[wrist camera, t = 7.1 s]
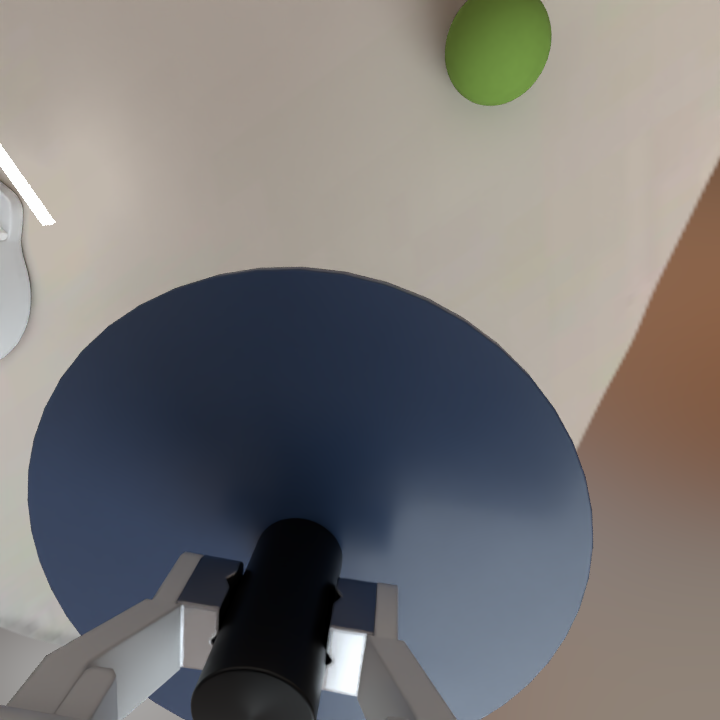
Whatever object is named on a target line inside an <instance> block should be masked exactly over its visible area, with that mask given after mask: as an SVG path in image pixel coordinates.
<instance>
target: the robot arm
mask: <svg viewBox="0 0 720 720" xmlns="http://www.w3.org/2000/svg"><path fill="white" fill-rule="evenodd" d="M0 166H1V167H2V169H3V170H4V171H5V173H6V174H7V176H8V177H9V178H10V180H11V181H12V183H13V184H14V185H15V187H16V188H17V190H18V191H19V192H20V194H21V195H22V197H23V198H24V200H25V201H26V202H27V204H28V205H29V207H30V208H31V209H32V211H33V212H34V214H35V215H36V216H37V218H38V219H39V221H40V222H41V223H42V225H52V224H53V223H55V221H54V220H53V219H52V217H51V216H50V214H49V213H48V212H47V210H46V209H45V207H44V206H43V204H42V203H41V202H40V200H39V199H38V197H37V196H36V194H35V193H34V192H33V190H32V189H31V187H30V186H29V185H28V183H27V182H26V180H25V179H24V177H23V176H22V175H21V173H20V172H19V170H18V169H17V167H16V166H15V165H14V163H13V162H12V160H11V159H10V158H9V156H8V155H7V153H6V152H5V150H4V149H3V148H2V146H1V145H0ZM22 226H23V208H22V204H21V201H20V199H19V198H18V196H17V195H16V194H15V193H14V192H13V191H12V190H11V189H10V188H8V187H7V186H6V185H5V184H3V183H2V182H1V181H0V359H2V358H3V357H5V356H6V355H7V354H8V353H10V352H11V351H12V349H13V348H14V347H15V346H16V345H17V343H18V342H19V340H20V339H21V337H22V335H23V333H24V331H25V329H26V326H27V323H28V319H29V315H30V308H31V289H30V281H29V276H28V271H27V268H26V264H25V260H24V257H23V253H22V248H21V236H22ZM243 575H244V563H243V562H241V561H236V560H231V559H225V558H220V557H214V556H209V555H201V554H196V553H190V552H184V553H183V554H182V555H180V557H179V558H178V560H177V561H176V563H175V565H174V566H173V568H172V569H171V571H170V572H169V574H168V575H167V577H166V579H165V580H164V582H163V583H162V585H161V586H160V588H159V590H158V591H157V593H156V594H155V596H154V597H153V599H152V600H151V599H145V600H143V601H141V602H140V603H138V604H136V605H134V606H133V607H131V608H129V609H127V610H126V611H124V612H122V613H120V614H119V615H117V616H115V617H113V618H112V619H110V620H108V621H106V622H105V623H103V624H101V625H99V626H97V627H96V628H94V629H92V630H90V631H89V632H87V633H85V634H83V635H82V636H80V637H78V638H76V639H75V640H73V641H71V642H69V643H68V644H66V645H64V646H62V647H61V648H59V649H57V650H55V651H54V652H52V653H50V654H48V655H46V657H45V658H44V659H43V661H42V662H41V663H40V664H39V665H38V667H37V668H36V669H35V670H34V672H33V673H32V674H31V675H30V677H29V678H28V679H27V680H26V682H25V683H24V684H23V685H22V687H21V688H20V689H19V690H18V691H17V693H16V694H15V695H14V697H13V698H12V699H11V700H10V701H9V703H8V704H7V705H6V706H4V705H0V720H123V719H124V718H125V717H126V716H127V715H128V714H129V713H131V712H132V711H133V710H134V709H135V708H136V707H137V706H139V705H140V704H141V703H142V702H143V701H144V700H145V699H147V698H148V697H149V696H150V695H151V694H152V693H154V692H155V691H156V690H157V689H158V688H159V687H160V686H162V685H163V684H164V683H165V682H166V681H167V680H168V679H170V678H171V677H172V676H173V675H174V674H175V673H176V672H178V671H179V670H180V667H184V668H191V669H199V670H203V668H204V665H205V663H206V661H207V658H208V656H209V654H210V651H211V649H212V647H213V644H214V642H215V640H216V637H217V635H218V633H219V630H220V628H221V626H222V623H223V621H224V619H225V616H226V614H227V612H228V609H229V607H230V605H231V602H232V600H233V598H234V595H235V593H236V591H237V589H238V586H239V584H240V582H241V579H242V577H243ZM326 652H327V659H326V665H325V671H324V677H323V683H322V689H321V690H326V691H331V692H336V693H341V694H346V695H351V696H356V697H357V700H358V702H359V705H360V707H361V709H362V712H363V714H364V716H365V719H366V720H457V719H456V717H455V716H454V715H453V713H452V712H451V710H450V709H449V707H448V706H447V704H446V703H445V701H444V700H443V698H442V697H441V695H440V694H439V692H438V691H437V689H436V688H435V686H434V685H433V683H432V682H431V680H430V679H429V677H428V676H427V674H426V673H425V671H424V670H423V669H422V667H421V666H420V664H419V663H418V661H417V660H416V658H415V657H414V655H413V654H412V652H411V651H410V649H409V648H408V646H407V645H406V643H405V642H404V641H402V640H398V587H397V585H392V584H385V583H378V582H377V583H376V582H369V581H363V580H356V579H349V578H343V577H338V579H337V585H336V591H335V598H334V603H333V609H332V615H331V621H330V627H329V634H328V641H327V648H326Z"/></svg>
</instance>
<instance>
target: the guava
mask: <svg viewBox="0 0 720 720" xmlns="http://www.w3.org/2000/svg"><path fill="white" fill-rule="evenodd" d="M550 46H551V25H550V21H549V17H548V14H547V11H546V9H545V7H544V5H543V4H542V2H541V1H540V0H468V1H467V2H466V3H465V4H464V5H463V6H462V7H461V9H460V10H459V11H458V13H457V14H456V16H455V18H454V20H453V22H452V24H451V26H450V29H449V32H448V35H447V39H446V46H445V62H446V68H447V72H448V75H449V77H450V80H451V82H452V83H453V85H454V87H455V88H456V89H457V91H458V92H459V93H460V94H461V95H462V96H464V97H465V98H466V99H468V100H470V101H472V102H474V103H477V104H480V105H487V106H494V105H501V104H505V103H507V102H510V101H512V100H514V99H516V98H518V97H519V96H520V95H522V94H523V93H525V92H526V91H527V90H528V89H529V88H530V87H531V86H532V85H533V84H534V82H535V81H536V80H537V78H538V77H539V75H540V74H541V72H542V70H543V68H544V66H545V64H546V61H547V59H548V55H549V51H550Z"/></svg>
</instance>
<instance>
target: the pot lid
mask: <svg viewBox="0 0 720 720" xmlns="http://www.w3.org/2000/svg"><path fill="white" fill-rule="evenodd" d="M28 507H29V515H30V523H31V531H32V535H33V539H34V542H35V546H36V550H37V554H38V557H39V561H40V563H41V566H42V568H43V571H44V573H45V575H46V578H47V580H48V583H49V585H50V587H51V590H52V591H53V593H54V595H55V597H56V598H57V600H58V602H59V604H60V605H61V607H62V609H63V611H64V612H65V614H66V616H67V617H68V619H69V620H70V621H71V623H72V624H73V625H74V627H75V628H76V630H77V631H78V632H79V634H80V635H81V636H82V635H83V634H85V633H87V632H89V631H90V630H92V629H94V628H96V627H97V626H99V625H101V624H103V623H105V622H106V621H108V620H110V619H112V618H113V617H115V616H117V615H119V614H120V613H122V612H124V611H126V610H127V609H129V608H131V607H133V606H134V605H136V604H138V603H140V602H141V601H143V600H145V599H151V600H152V599H153V597H154V596H155V594H156V593H157V591H158V590H159V588H160V586H161V585H162V583H163V582H164V580H165V579H166V577H167V575H168V574H169V572H170V571H171V569H172V568H173V566H174V565H175V563H176V561H177V560H178V558H179V557H180V555H182V554H183V553H184V552H190V553H196V554H201V555H209V556H214V557H220V558H225V559H231V560H236V561H241V562H243V563H244V575H243V577H242V579H241V582H240V584H239V586H238V589H237V591H236V593H235V595H234V598H233V600H232V602H231V605H230V607H229V609H228V612H227V614H226V616H225V619H224V621H223V623H222V626H221V628H220V630H219V633H218V635H217V637H216V640H215V642H214V644H213V647H212V649H211V651H210V654H209V656H208V658H207V661H206V663H205V665H204V668H203V670H199V669H191V668H184V667H180V670H179V671H178V672H176V673H175V674H174V675H173V676H172V677H171V678H170V679H168V680H167V681H166V682H165V683H164V684H163V685H162V686H160V687H159V688H158V689H157V690H156V691H155V692H154V693H152V694H151V695H150V696H149V697H148V698H149V699H151V700H152V701H154V702H155V703H157V704H158V705H160V706H162V707H164V708H165V709H167V710H169V711H170V712H172V713H174V714H176V715H177V716H179V717H181V718H183V719H185V720H366V719H365V716H364V714H363V712H362V709H361V707H360V705H359V702H358V700H357V697H356V696H351V695H346V694H341V693H336V692H331V691H326V690H321V689H322V683H323V677H324V671H325V665H326V659H327V652H326V648H327V641H328V634H329V627H330V621H331V615H332V609H333V603H334V598H335V591H336V585H337V579H338V577H343V578H349V579H356V580H363V581H369V582H376V583H377V582H378V583H385V584H392V585H397V587H398V640H402V641H404V642H405V643H406V645H407V646H408V648H409V649H410V651H411V652H412V654H413V655H414V657H415V658H416V660H417V661H418V663H419V664H420V666H421V667H422V669H423V670H424V671H425V673H426V674H427V676H428V677H429V679H430V680H431V682H432V683H433V685H434V686H435V688H436V689H437V691H438V692H439V694H440V695H441V697H442V698H443V700H444V701H445V703H446V704H447V706H448V707H449V709H450V710H451V712H452V713H453V715H454V716H455V717H456V719H457V720H481V719H482V718H484V717H485V716H487V715H489V714H490V713H492V712H493V711H495V710H496V709H498V708H499V707H501V706H503V705H504V704H506V703H507V702H508V701H509V700H510V699H512V698H513V697H514V696H515V695H516V694H517V693H519V692H520V691H521V690H522V689H523V688H525V687H526V686H527V685H528V684H529V683H530V682H531V681H532V680H533V679H534V678H535V677H536V675H537V674H538V673H539V672H540V671H541V670H542V669H543V668H544V667H545V665H546V664H547V663H548V662H549V661H550V659H551V658H552V657H553V655H554V654H555V652H556V651H557V649H558V648H559V646H560V645H561V643H562V642H563V640H564V639H565V637H566V636H567V634H568V631H569V629H570V627H571V625H572V623H573V621H574V619H575V617H576V615H577V613H578V611H579V608H580V605H581V602H582V599H583V595H584V592H585V589H586V585H587V582H588V579H589V572H590V564H591V556H592V549H593V526H592V508H591V503H590V498H589V493H588V487H587V482H586V477H585V474H584V471H583V469H582V466H581V463H580V460H579V458H578V455H577V452H576V449H575V446H574V444H573V441H572V440H571V438H570V436H569V434H568V432H567V430H566V429H565V427H564V425H563V423H562V421H561V419H560V418H559V416H558V414H557V412H556V410H555V409H554V407H553V406H552V405H551V403H550V402H549V401H548V399H547V398H546V397H545V395H544V394H543V393H542V391H541V390H540V389H539V387H538V386H537V385H536V383H535V382H534V381H533V380H532V378H531V377H530V376H529V374H528V373H527V372H526V371H525V370H524V369H523V368H522V367H521V366H520V365H519V364H518V363H517V362H516V361H515V360H514V359H513V358H512V357H511V356H510V355H509V354H508V353H507V352H506V351H505V350H504V349H503V348H502V347H501V346H500V345H499V344H498V343H497V342H495V341H494V340H493V339H491V338H490V337H488V336H487V335H486V334H484V333H483V332H482V331H480V330H479V329H478V328H476V327H475V326H474V325H472V324H471V323H470V322H468V321H467V320H466V319H464V318H463V317H461V316H459V315H457V314H455V313H454V312H452V311H450V310H448V309H446V308H445V307H443V306H441V305H439V304H437V303H436V302H434V301H432V300H430V299H428V298H426V297H424V296H421V295H419V294H416V293H414V292H411V291H409V290H406V289H403V288H401V287H398V286H396V285H393V284H391V283H388V282H385V281H381V280H377V279H373V278H369V277H365V276H361V275H357V274H353V273H349V272H344V271H335V270H326V269H317V268H308V267H274V268H256V269H250V270H243V271H237V272H231V273H225V274H219V275H216V276H213V277H209V278H206V279H203V280H200V281H196V282H193V283H190V284H187V285H183V286H180V287H177V288H175V289H172V290H170V291H168V292H166V293H164V294H162V295H160V296H158V297H156V298H154V299H151V300H149V301H147V302H145V303H143V304H141V305H139V306H138V307H136V308H135V309H133V310H132V311H130V312H129V313H127V314H126V315H124V316H123V317H121V318H120V319H118V320H117V321H115V322H114V323H112V324H111V325H110V326H108V327H107V328H106V329H105V330H104V331H103V332H102V333H101V334H100V335H98V336H97V337H96V338H95V339H94V340H93V341H92V342H91V343H90V344H89V345H88V346H87V347H86V348H85V349H84V350H82V352H81V353H80V354H79V355H78V357H77V358H76V359H75V361H74V362H73V363H72V365H71V366H70V367H69V368H68V370H67V371H66V372H65V374H64V375H63V376H62V377H61V379H60V381H59V383H58V384H57V386H56V388H55V390H54V392H53V394H52V396H51V397H50V399H49V401H48V403H47V405H46V407H45V408H44V411H43V414H42V417H41V420H40V423H39V426H38V429H37V431H36V434H35V437H34V441H33V447H32V453H31V458H30V464H29V469H28Z"/></svg>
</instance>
